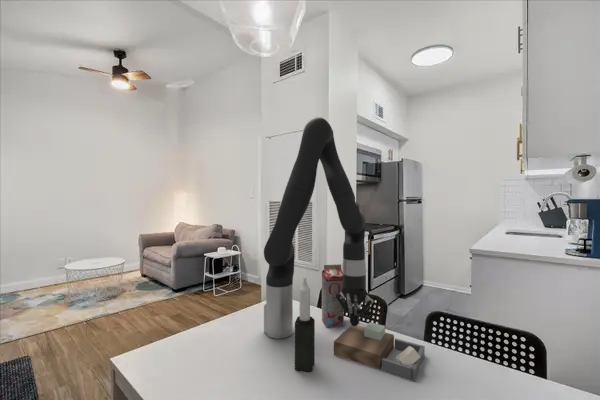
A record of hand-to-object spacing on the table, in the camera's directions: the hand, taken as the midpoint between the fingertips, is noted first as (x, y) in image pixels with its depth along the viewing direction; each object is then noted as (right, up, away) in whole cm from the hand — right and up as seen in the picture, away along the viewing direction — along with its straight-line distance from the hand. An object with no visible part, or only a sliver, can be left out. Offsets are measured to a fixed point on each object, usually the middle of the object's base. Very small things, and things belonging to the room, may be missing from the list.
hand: (354, 325), depth 93 cm
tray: (+12, -6, -12) cm, 18 cm away
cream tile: (+13, -3, -15) cm, 20 cm away
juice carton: (-6, -6, +14) cm, 16 cm away
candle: (-17, -6, -14) cm, 22 cm away
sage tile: (+6, -2, -4) cm, 7 cm away
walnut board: (+2, -6, -6) cm, 8 cm away
